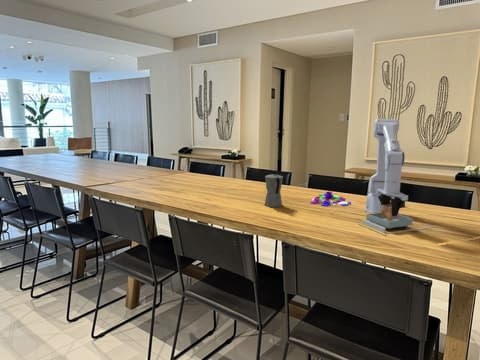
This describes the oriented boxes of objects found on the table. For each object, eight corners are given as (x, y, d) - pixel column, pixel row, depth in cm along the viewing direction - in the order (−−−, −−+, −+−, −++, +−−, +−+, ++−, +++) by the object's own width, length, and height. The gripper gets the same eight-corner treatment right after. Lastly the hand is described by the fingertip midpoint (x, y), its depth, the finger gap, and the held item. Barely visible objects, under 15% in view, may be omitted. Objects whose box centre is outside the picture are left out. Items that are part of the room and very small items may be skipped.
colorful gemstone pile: (338, 210, 170) (338, 201, 169) (303, 203, 184) (303, 195, 183) (359, 201, 188) (360, 193, 187) (326, 196, 202) (326, 188, 201)
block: (380, 216, 141) (381, 205, 140) (389, 215, 142) (390, 204, 141) (389, 219, 136) (390, 207, 136) (397, 218, 138) (398, 206, 137)
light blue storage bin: (365, 223, 143) (366, 213, 143) (388, 220, 148) (389, 211, 147) (387, 232, 132) (388, 221, 131) (411, 228, 136) (412, 218, 136)
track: (358, 224, 144) (358, 218, 144) (408, 218, 154) (408, 212, 154) (386, 236, 130) (387, 229, 129) (440, 228, 140) (440, 222, 139)
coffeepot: (261, 202, 182) (262, 169, 179) (278, 201, 184) (279, 168, 180) (268, 209, 167) (269, 173, 164) (287, 209, 169) (288, 173, 165)
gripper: (371, 178, 142) (369, 210, 144) (399, 185, 129) (396, 219, 131) (384, 178, 145) (382, 209, 147) (413, 183, 131) (410, 218, 134)
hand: (389, 214), depth 139 cm, fingers closed on block, 4 cm apart
